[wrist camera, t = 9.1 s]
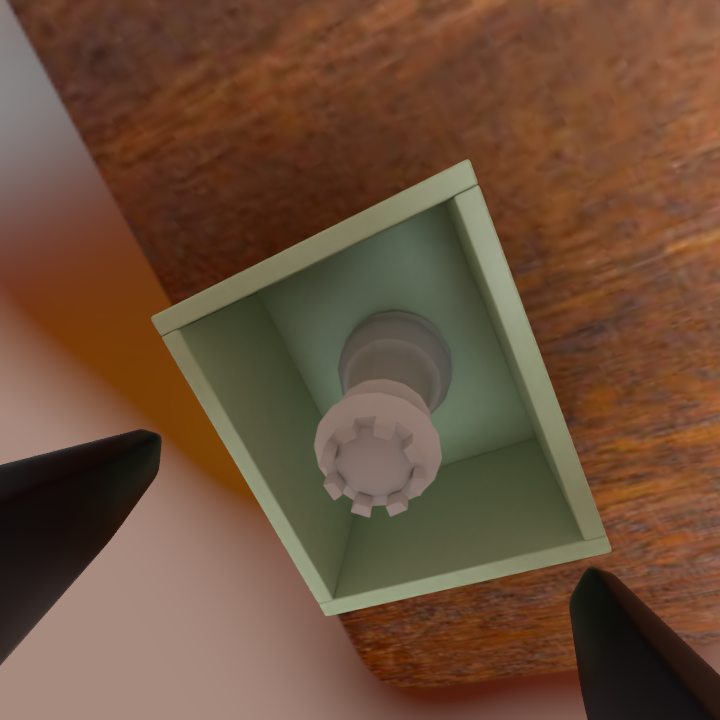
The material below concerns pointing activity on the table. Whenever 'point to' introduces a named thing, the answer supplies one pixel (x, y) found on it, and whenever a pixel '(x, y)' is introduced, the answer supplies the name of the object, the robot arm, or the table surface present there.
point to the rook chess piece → (385, 413)
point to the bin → (451, 419)
